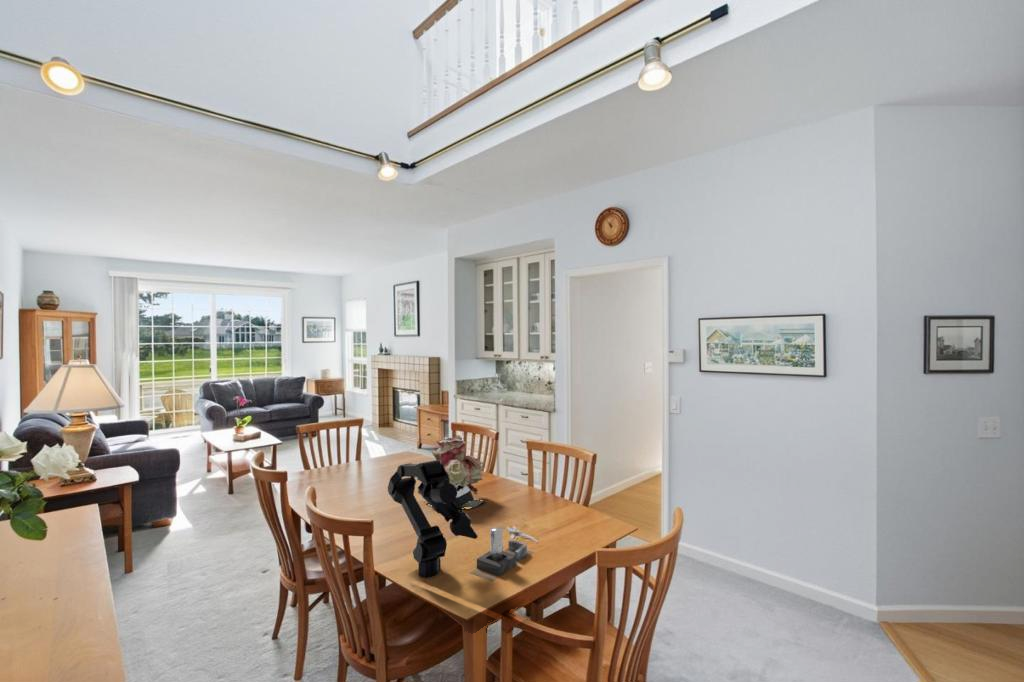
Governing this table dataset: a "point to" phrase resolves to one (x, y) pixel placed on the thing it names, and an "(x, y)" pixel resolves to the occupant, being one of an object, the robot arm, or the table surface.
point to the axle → (496, 544)
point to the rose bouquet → (459, 465)
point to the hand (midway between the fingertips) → (473, 531)
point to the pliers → (515, 531)
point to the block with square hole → (510, 559)
